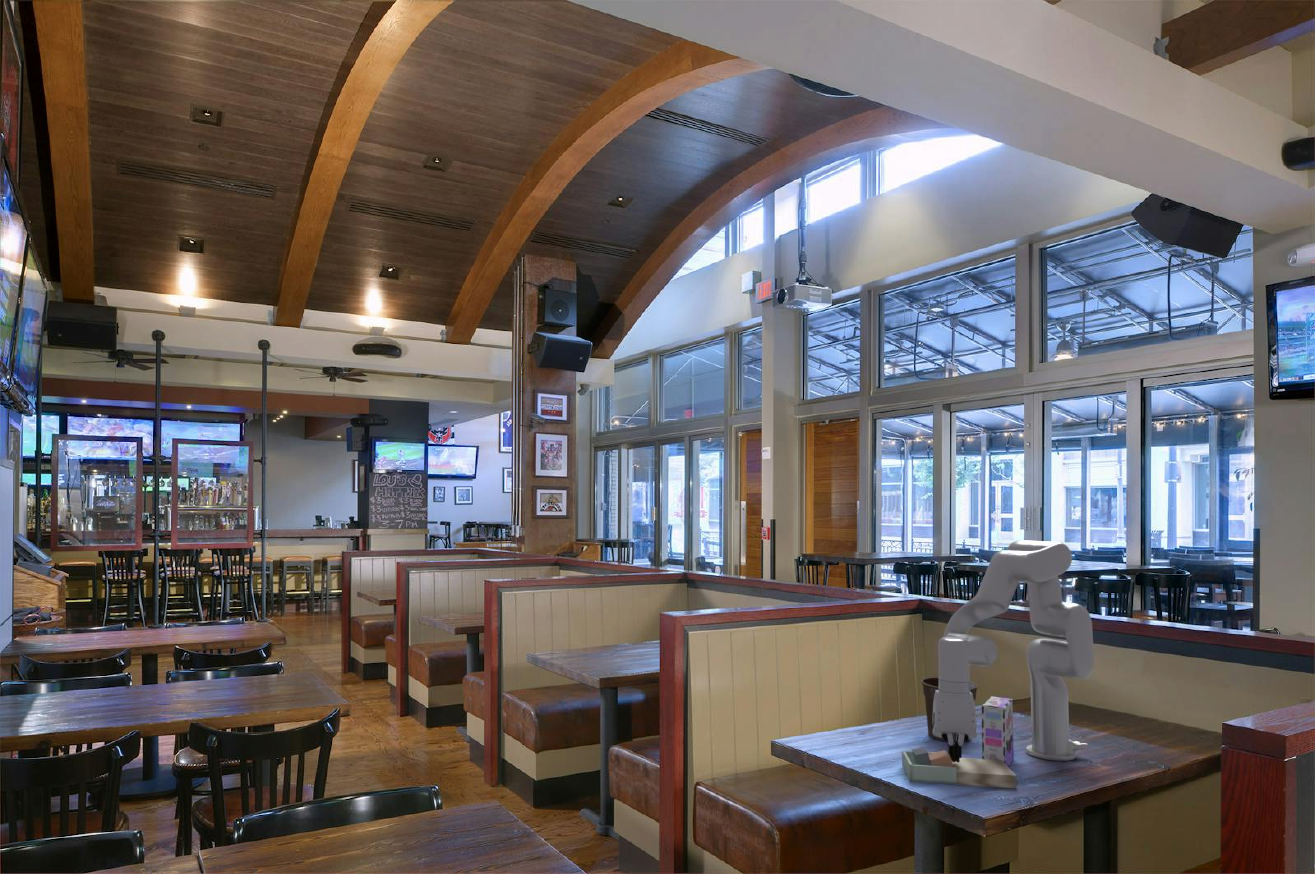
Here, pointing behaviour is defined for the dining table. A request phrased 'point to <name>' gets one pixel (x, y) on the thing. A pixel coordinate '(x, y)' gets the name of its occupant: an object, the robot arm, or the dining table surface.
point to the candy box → (997, 730)
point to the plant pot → (929, 691)
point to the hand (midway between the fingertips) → (954, 760)
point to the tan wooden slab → (984, 773)
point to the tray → (927, 771)
